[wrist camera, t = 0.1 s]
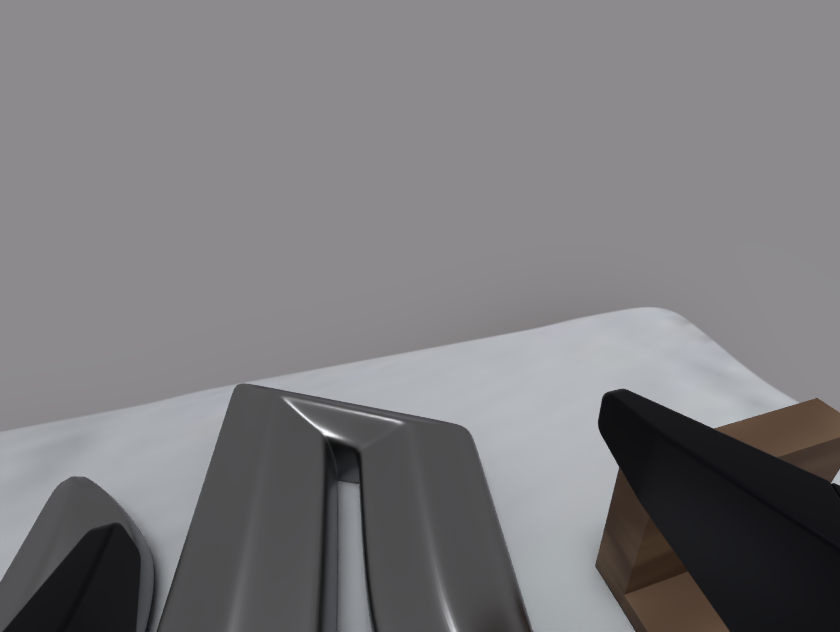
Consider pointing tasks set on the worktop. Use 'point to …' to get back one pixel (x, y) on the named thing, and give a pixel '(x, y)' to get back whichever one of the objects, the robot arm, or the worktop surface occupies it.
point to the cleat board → (654, 558)
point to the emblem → (310, 526)
